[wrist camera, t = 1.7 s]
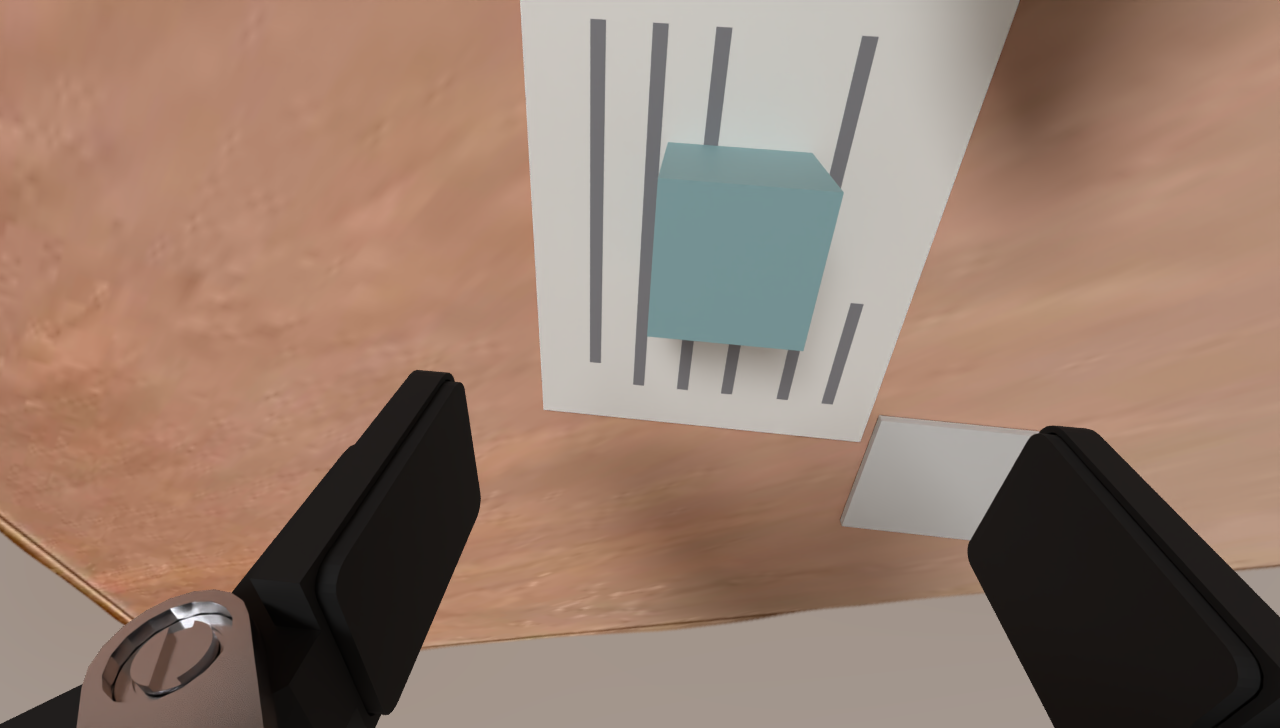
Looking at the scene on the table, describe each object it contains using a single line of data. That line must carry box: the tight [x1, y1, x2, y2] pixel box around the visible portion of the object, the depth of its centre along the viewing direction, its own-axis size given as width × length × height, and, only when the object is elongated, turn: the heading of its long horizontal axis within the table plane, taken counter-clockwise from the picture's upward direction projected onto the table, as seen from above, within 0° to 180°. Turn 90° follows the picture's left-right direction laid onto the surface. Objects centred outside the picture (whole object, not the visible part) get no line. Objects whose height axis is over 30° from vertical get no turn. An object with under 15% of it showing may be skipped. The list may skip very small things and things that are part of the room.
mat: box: [840, 415, 1039, 540], centre depth 26 cm, size 7×7×1 cm
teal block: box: [647, 142, 844, 351], centre depth 18 cm, size 5×5×5 cm
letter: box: [520, 0, 1020, 442], centre depth 21 cm, size 15×18×1 cm
